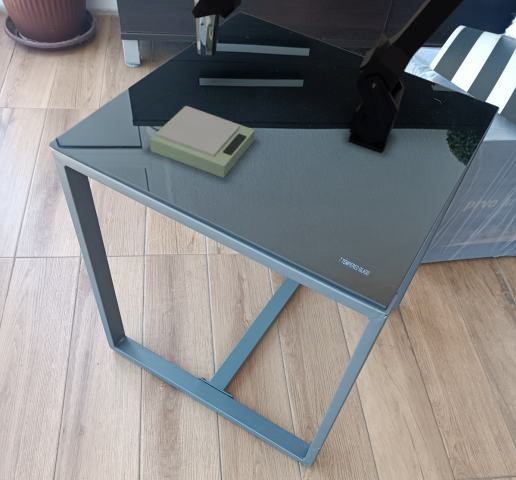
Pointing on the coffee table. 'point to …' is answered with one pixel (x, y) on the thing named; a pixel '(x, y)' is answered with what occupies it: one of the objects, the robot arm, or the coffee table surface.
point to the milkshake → (207, 34)
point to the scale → (202, 141)
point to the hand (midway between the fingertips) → (200, 9)
